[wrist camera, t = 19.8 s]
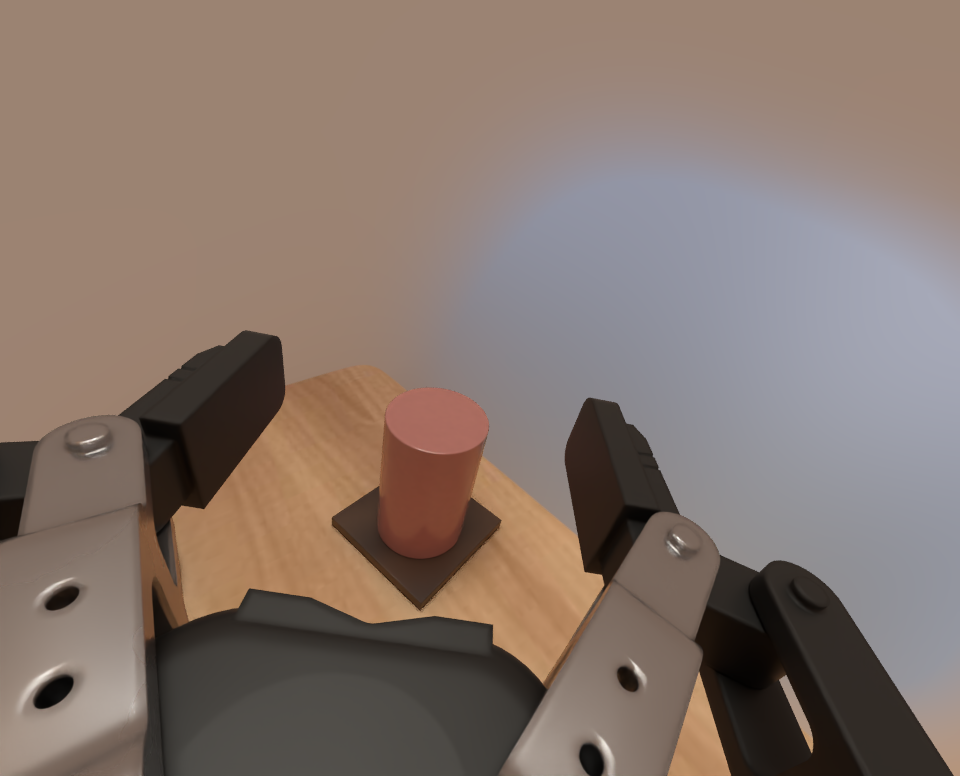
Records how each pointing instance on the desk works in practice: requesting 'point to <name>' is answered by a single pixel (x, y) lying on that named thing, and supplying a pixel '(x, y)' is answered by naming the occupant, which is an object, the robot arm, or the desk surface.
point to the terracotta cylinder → (428, 469)
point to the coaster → (409, 573)
